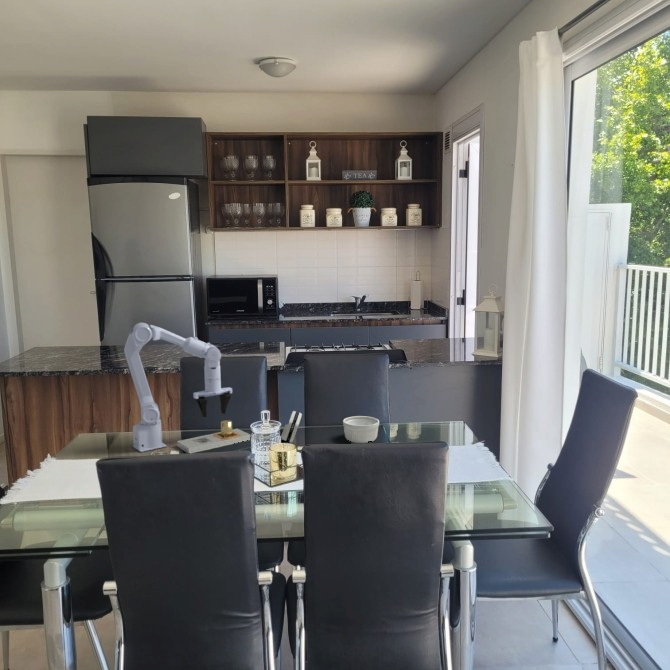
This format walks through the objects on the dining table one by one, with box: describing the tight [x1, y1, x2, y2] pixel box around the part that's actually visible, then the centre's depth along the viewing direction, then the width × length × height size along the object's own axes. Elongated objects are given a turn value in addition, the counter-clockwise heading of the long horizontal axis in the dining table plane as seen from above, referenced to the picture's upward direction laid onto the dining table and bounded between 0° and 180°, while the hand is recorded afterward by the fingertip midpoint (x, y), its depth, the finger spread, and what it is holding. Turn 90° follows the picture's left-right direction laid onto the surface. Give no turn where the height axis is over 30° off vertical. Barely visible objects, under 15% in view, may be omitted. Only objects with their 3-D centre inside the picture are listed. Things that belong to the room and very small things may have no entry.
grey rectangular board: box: [176, 428, 252, 454], centre depth 210 cm, size 24×10×2 cm, turn 128°
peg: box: [220, 420, 233, 438], centre depth 213 cm, size 4×4×7 cm
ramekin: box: [342, 415, 380, 444], centre depth 213 cm, size 13×13×7 cm
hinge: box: [280, 410, 303, 443], centre depth 218 cm, size 17×5×10 cm, turn 178°
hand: (213, 414), depth 213 cm, fingers open, 7 cm apart
